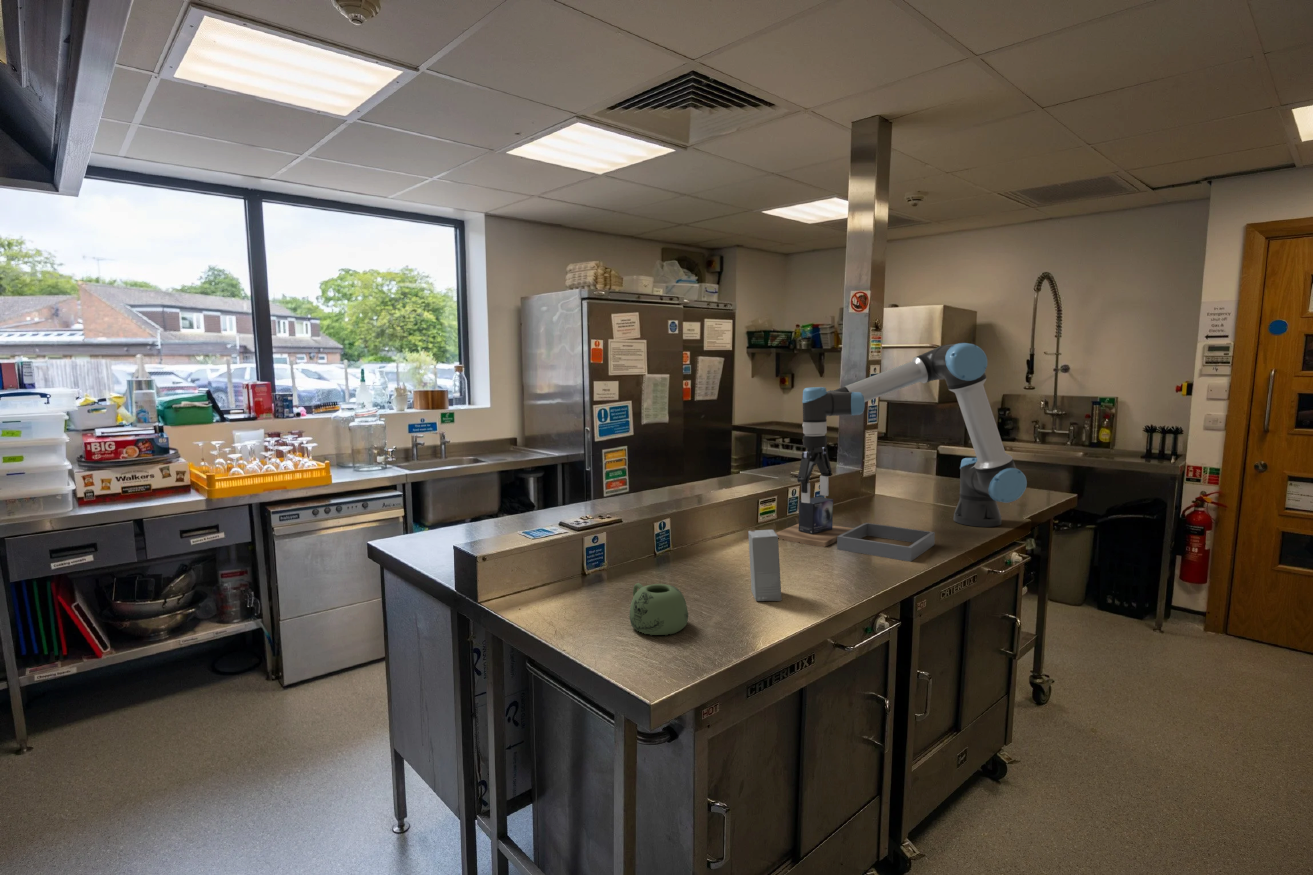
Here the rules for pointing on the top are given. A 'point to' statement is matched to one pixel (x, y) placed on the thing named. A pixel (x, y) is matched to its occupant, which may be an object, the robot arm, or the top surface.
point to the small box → (816, 515)
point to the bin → (856, 544)
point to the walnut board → (812, 535)
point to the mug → (658, 609)
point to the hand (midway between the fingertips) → (815, 499)
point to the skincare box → (764, 565)
